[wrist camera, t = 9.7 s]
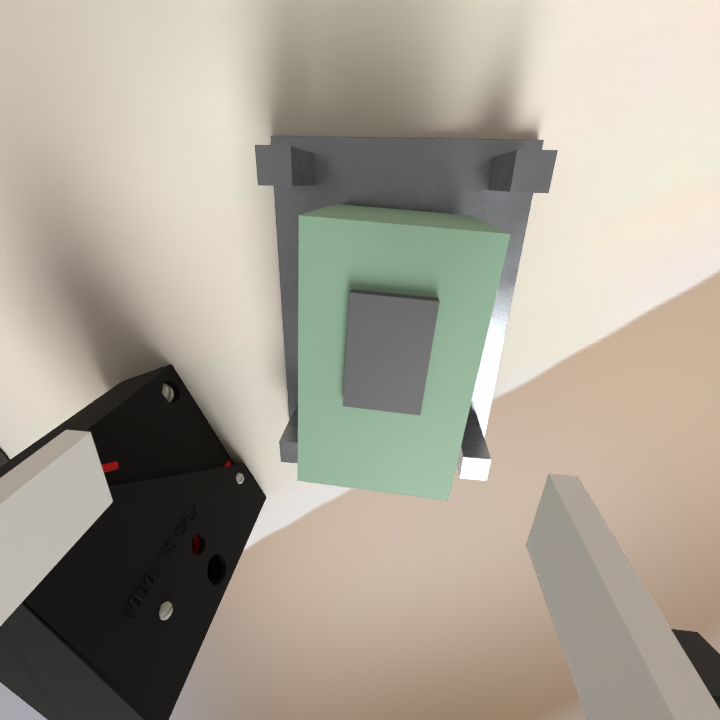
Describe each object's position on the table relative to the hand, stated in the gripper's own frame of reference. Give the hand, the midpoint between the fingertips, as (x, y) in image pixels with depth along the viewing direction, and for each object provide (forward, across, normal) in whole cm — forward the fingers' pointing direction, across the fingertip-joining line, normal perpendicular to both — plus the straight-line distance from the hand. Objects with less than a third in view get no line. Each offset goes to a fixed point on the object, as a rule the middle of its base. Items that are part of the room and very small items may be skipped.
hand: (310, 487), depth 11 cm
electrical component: (+22, -18, -17) cm, 33 cm away
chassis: (+22, +2, -1) cm, 22 cm away
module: (+19, +2, -1) cm, 19 cm away
